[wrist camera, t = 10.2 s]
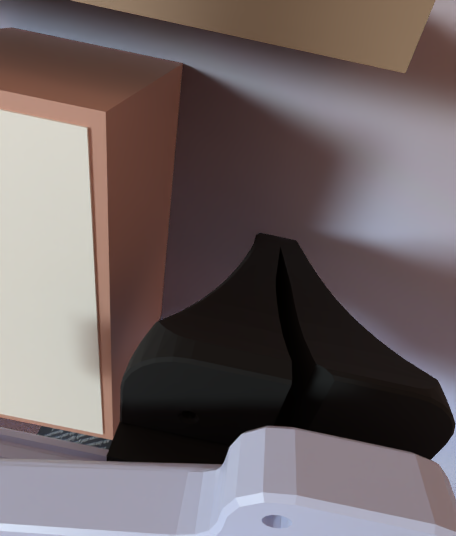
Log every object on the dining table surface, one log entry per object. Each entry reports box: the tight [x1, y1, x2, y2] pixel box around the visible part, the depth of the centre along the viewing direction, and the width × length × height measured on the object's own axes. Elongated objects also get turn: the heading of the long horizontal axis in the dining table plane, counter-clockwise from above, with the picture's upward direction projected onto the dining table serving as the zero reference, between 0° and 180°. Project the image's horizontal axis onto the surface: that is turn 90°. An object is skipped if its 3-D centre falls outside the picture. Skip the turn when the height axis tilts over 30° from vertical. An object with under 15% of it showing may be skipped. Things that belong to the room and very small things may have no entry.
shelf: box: [72, 0, 435, 73], centre depth 11 cm, size 17×14×5 cm
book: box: [0, 28, 183, 440], centre depth 11 cm, size 5×10×6 cm, turn 170°
